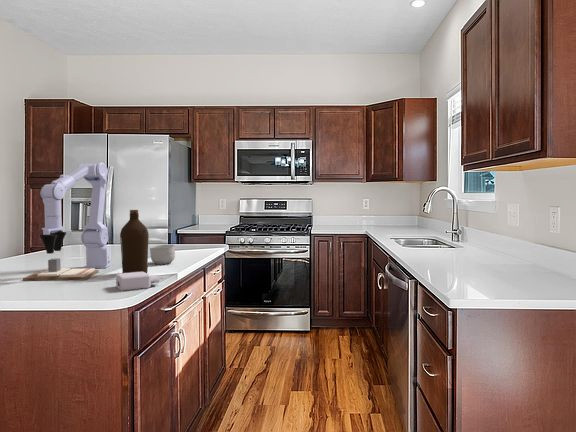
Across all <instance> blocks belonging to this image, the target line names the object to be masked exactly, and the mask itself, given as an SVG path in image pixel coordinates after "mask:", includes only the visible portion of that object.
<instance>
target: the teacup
mask: <svg viewBox="0 0 576 432" xmlns="http://www.w3.org/2000/svg"><path fill="white" fill-rule="evenodd" d="M175 251H176V250H175V244H158V245H152V246H150V247H149V253H150V259H151V261H152V262H153V263H154V264H156V265H168V264H171V263H172V262H173V261H174V260H175V258H176V252H175Z"/></svg>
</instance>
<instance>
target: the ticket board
mask: <svg viewBox="0 0 576 432" xmlns="http://www.w3.org/2000/svg"><path fill="white" fill-rule="evenodd" d="M44 271H45V270H39V271H37V272H34V273H32V274H30V275H27V276H24V277H22V281H23V282H28V281H29V282H33V281H35V282H36V281H38V282H39V281H40V282H41V280H42V282H43V280H45V281H83V280H84V281H87V280H88V279H90V278H92V277H94V276H95V275H97V274H98V273H99V269H95V271H93V272H91V273H89V274H88V275H86V276H84V277H59V276H43V277H37V274H40V273H42V272H44Z"/></svg>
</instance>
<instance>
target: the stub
mask: <svg viewBox="0 0 576 432" xmlns="http://www.w3.org/2000/svg"><path fill="white" fill-rule="evenodd" d="M47 266H48V267H47V268H48V269H47V270H43V271H44V272H42V273H40V274H37V277H43V276H59V274H62V273H63V272H65V271H67V270H70V269H71V267H61V266H62V265H61V258H60V257H59V258H55V257H54V258H50V259H48V260H47Z"/></svg>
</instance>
